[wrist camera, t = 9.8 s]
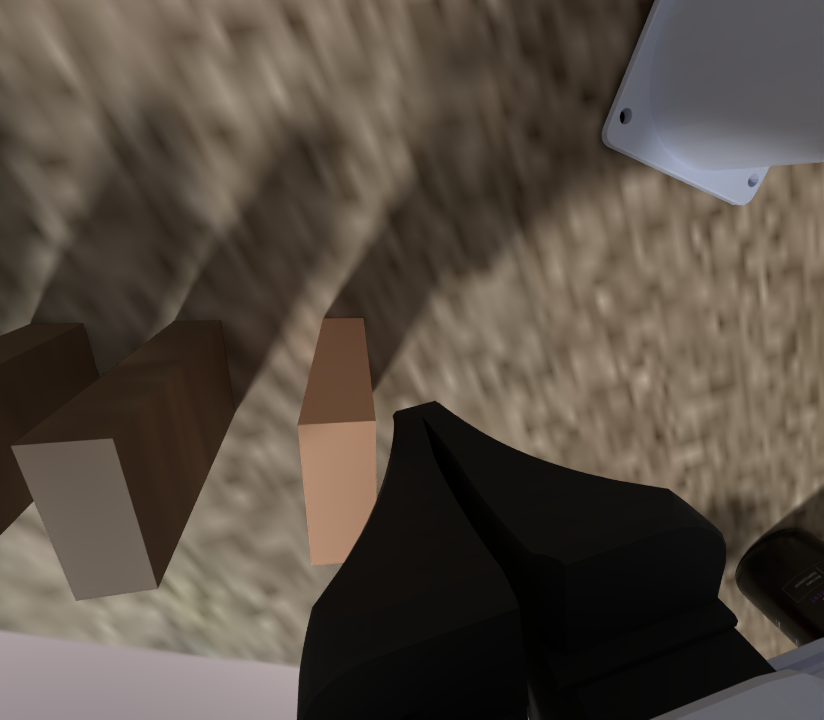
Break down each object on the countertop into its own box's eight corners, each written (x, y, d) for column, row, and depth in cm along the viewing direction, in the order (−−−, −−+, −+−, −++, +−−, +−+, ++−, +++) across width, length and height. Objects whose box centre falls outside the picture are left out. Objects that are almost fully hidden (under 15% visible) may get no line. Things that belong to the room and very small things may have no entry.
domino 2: (220, 320, 14) (112, 438, 7) (234, 412, 16) (157, 588, 9) (173, 321, 14) (10, 446, 7) (193, 415, 16) (76, 600, 8)
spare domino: (363, 317, 15) (375, 420, 8) (365, 405, 17) (376, 558, 10) (323, 318, 15) (297, 424, 8) (328, 406, 17) (311, 566, 9)
